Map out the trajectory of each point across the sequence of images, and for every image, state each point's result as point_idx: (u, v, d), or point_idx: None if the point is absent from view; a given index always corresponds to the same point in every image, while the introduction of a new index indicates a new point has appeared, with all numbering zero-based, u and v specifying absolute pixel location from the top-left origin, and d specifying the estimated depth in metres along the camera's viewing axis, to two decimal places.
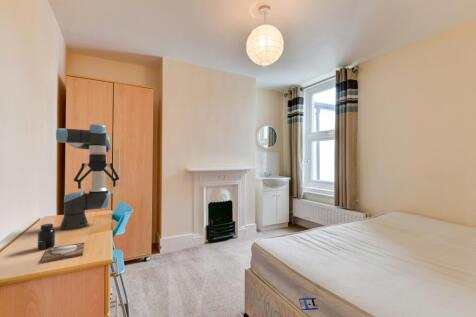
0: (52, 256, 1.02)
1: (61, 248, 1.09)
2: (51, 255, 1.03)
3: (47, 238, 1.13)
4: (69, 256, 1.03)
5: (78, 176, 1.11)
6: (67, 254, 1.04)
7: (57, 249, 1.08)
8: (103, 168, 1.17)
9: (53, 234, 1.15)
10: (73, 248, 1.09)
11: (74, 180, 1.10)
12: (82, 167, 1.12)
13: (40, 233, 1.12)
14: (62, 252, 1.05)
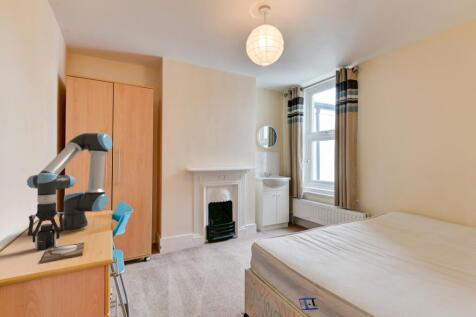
0: (52, 256, 1.02)
1: (61, 248, 1.09)
2: (51, 255, 1.03)
3: (47, 238, 1.13)
4: (69, 256, 1.03)
5: (31, 230, 1.11)
6: (67, 254, 1.04)
7: (57, 249, 1.08)
8: (51, 218, 1.15)
9: (53, 234, 1.15)
10: (73, 248, 1.09)
11: (28, 235, 1.10)
12: (31, 220, 1.11)
13: (40, 233, 1.12)
14: (62, 252, 1.05)
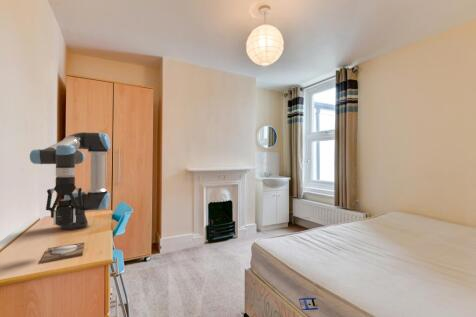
0: (52, 256, 1.02)
1: (61, 248, 1.09)
2: (51, 255, 1.03)
3: (66, 213, 1.06)
4: (69, 256, 1.03)
5: (49, 204, 1.05)
6: (67, 254, 1.04)
7: (57, 249, 1.08)
8: (70, 192, 1.09)
9: (72, 210, 1.09)
10: (73, 248, 1.09)
11: (47, 209, 1.04)
12: (49, 194, 1.05)
13: (58, 207, 1.06)
14: (62, 252, 1.05)
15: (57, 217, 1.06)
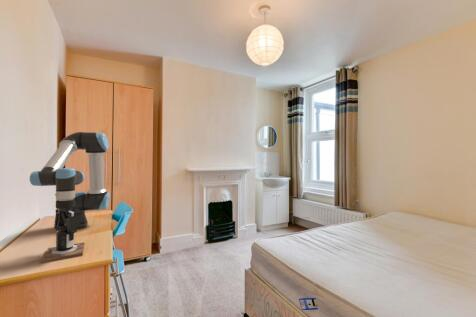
0: (52, 256, 1.02)
1: None
2: (51, 255, 1.03)
3: (57, 239, 1.05)
4: (69, 256, 1.03)
5: (55, 223, 1.11)
6: (67, 254, 1.04)
7: None
8: (63, 216, 1.06)
9: (64, 236, 1.06)
10: (73, 248, 1.09)
11: (54, 227, 1.11)
12: (56, 214, 1.11)
13: (57, 232, 1.08)
14: (62, 252, 1.05)
15: None
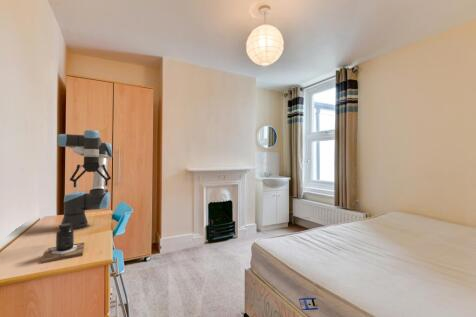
0: (52, 256, 1.02)
1: None
2: (51, 255, 1.03)
3: (58, 239, 1.05)
4: (69, 256, 1.03)
5: (74, 176, 1.26)
6: (67, 254, 1.04)
7: None
8: (96, 169, 1.31)
9: (64, 236, 1.06)
10: (73, 248, 1.09)
11: (70, 180, 1.25)
12: (77, 168, 1.27)
13: (57, 232, 1.08)
14: (62, 252, 1.05)
15: None
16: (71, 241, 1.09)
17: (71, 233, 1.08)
